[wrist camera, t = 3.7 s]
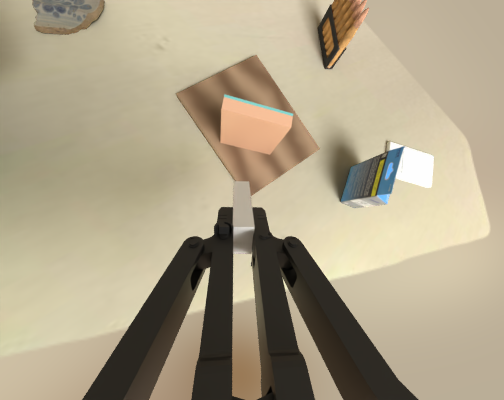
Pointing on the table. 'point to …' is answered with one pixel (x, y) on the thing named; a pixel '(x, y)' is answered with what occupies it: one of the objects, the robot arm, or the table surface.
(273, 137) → the tile
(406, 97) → the table surface
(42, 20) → the ceramic fragment
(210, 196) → the table surface
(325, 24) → the ammunition clip
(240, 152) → the board
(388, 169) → the label tape box
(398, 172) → the external hard drive
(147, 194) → the table surface
